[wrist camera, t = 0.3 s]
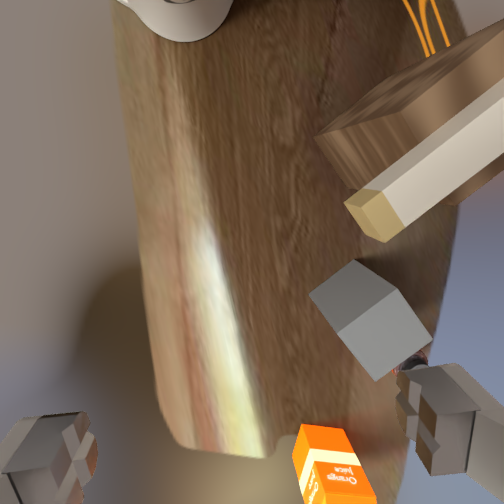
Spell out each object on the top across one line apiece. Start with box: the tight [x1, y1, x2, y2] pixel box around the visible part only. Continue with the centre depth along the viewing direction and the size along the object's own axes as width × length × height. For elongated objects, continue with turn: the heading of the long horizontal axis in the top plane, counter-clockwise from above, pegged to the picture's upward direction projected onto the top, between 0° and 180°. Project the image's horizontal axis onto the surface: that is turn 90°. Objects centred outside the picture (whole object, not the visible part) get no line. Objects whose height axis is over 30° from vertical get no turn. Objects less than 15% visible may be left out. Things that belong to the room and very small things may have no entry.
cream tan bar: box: [344, 78, 504, 243], centre depth 28 cm, size 20×4×4 cm, turn 128°
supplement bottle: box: [391, 350, 429, 377], centre depth 58 cm, size 6×6×11 cm
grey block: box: [308, 260, 433, 382], centre depth 54 cm, size 10×10×14 cm
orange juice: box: [292, 424, 377, 504], centre depth 58 cm, size 8×9×20 cm
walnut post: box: [313, 19, 504, 206], centre depth 41 cm, size 14×10×26 cm
